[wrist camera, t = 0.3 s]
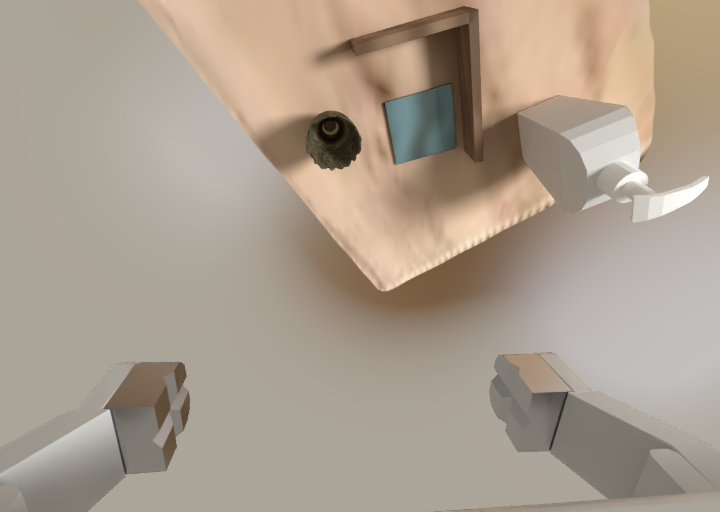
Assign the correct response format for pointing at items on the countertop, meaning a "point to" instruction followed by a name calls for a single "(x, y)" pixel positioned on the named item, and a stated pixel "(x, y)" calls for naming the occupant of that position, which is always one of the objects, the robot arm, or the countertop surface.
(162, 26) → the countertop surface
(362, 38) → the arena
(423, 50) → the countertop surface
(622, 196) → the soap bottle
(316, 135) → the cup
